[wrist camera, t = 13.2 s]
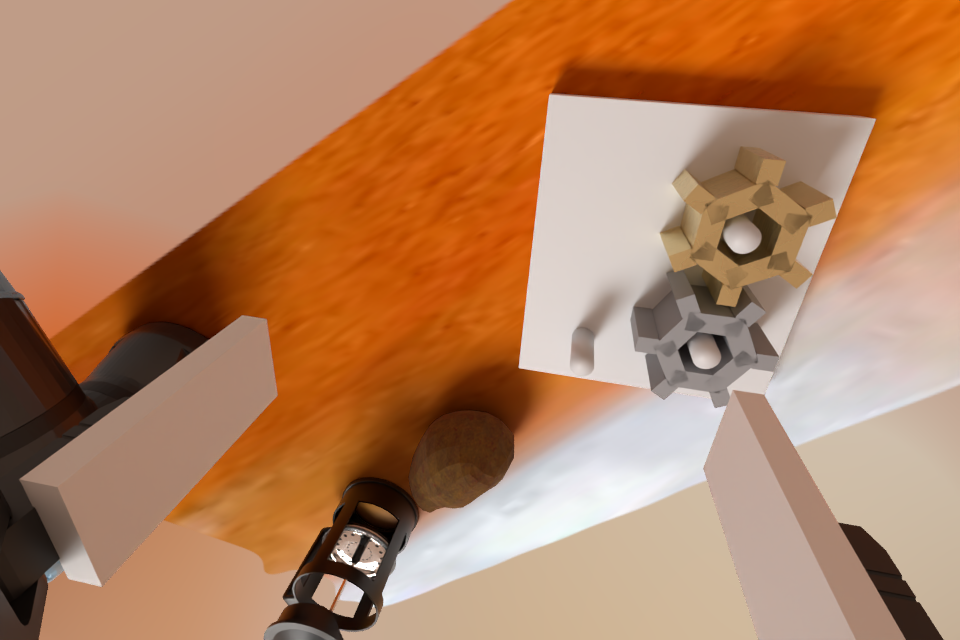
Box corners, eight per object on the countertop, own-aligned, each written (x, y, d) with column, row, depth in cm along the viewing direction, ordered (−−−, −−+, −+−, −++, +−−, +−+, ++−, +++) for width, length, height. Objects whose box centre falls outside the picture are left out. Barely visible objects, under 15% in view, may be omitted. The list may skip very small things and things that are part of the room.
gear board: (521, 356, 45) (509, 405, 39) (551, 93, 35) (542, 99, 28) (752, 392, 42) (782, 452, 36) (860, 115, 32) (929, 129, 25)
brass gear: (679, 290, 37) (690, 320, 33) (643, 185, 35) (650, 203, 30) (815, 246, 34) (848, 273, 30) (788, 126, 31) (819, 136, 27)
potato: (396, 421, 52) (362, 482, 44) (488, 377, 47) (467, 438, 39) (442, 477, 54) (418, 544, 47) (534, 441, 49) (524, 509, 42)
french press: (403, 471, 55) (294, 703, 35) (436, 530, 58) (354, 773, 38) (318, 484, 59) (177, 700, 39) (354, 539, 62) (241, 764, 42)
